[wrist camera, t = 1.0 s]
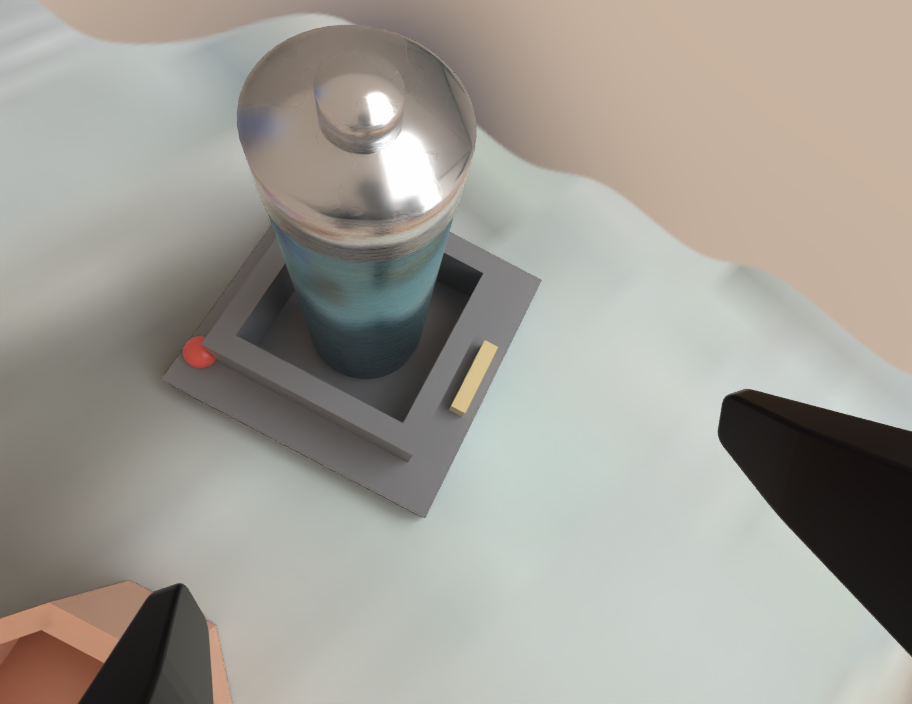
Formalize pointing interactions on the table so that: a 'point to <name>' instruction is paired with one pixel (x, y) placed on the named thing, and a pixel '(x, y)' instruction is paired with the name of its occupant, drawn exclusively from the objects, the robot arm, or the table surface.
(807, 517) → the robot arm
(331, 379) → the tray
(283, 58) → the battery
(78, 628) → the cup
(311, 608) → the table surface
